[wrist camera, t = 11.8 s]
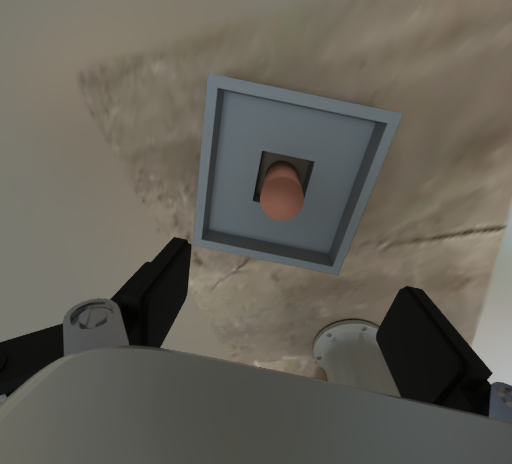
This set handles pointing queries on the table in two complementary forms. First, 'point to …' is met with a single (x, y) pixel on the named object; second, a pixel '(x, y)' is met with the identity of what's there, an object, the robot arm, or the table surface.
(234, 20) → the table surface
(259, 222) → the tray
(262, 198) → the peg
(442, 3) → the table surface
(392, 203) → the table surface
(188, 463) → the robot arm
